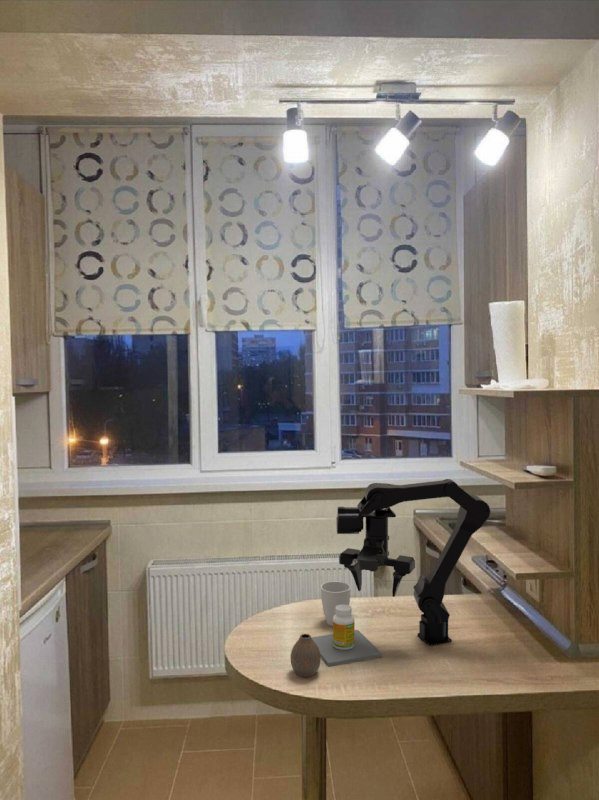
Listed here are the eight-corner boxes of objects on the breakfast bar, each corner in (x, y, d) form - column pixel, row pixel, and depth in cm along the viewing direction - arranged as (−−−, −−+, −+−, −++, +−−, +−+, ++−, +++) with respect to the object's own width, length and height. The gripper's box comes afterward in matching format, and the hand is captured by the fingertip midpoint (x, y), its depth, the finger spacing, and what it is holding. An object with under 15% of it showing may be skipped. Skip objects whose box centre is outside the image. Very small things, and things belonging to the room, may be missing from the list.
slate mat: (357, 632, 161) (357, 629, 161) (381, 656, 148) (382, 653, 148) (308, 640, 157) (308, 637, 157) (328, 666, 144) (328, 663, 144)
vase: (291, 665, 144) (291, 629, 144) (320, 665, 144) (320, 629, 144) (289, 680, 137) (289, 642, 137) (320, 680, 137) (320, 642, 137)
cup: (350, 616, 172) (350, 581, 171) (350, 629, 164) (350, 592, 163) (322, 615, 172) (321, 581, 172) (320, 628, 164) (319, 591, 164)
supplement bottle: (348, 652, 149) (348, 613, 148) (328, 647, 152) (328, 608, 151) (358, 643, 153) (358, 605, 153) (339, 638, 156) (339, 601, 156)
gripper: (330, 537, 153) (330, 598, 154) (403, 546, 145) (403, 611, 146) (347, 526, 163) (347, 584, 164) (415, 534, 155) (415, 595, 156)
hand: (376, 593), depth 157 cm, fingers open, 9 cm apart
